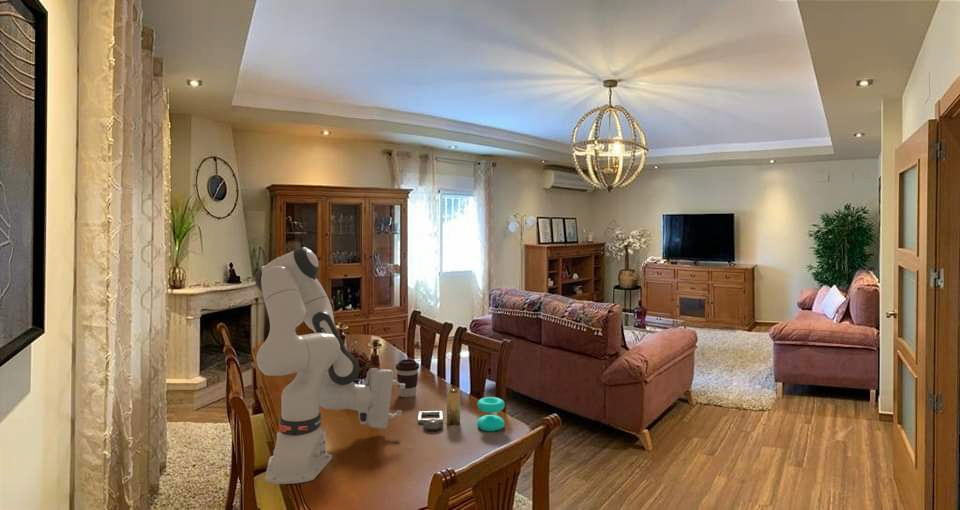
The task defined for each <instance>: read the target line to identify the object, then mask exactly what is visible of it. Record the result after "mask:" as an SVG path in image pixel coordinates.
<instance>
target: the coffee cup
mask: <svg viewBox="0 0 960 510" xmlns="http://www.w3.org/2000/svg"><path fill="white" fill-rule="evenodd" d="M419 369H420V364H419V363H418V362H416V360H415V359H409V358H407V359H401V360H400V361H399V362H398V363H397V364H395V370H397V372H396V377H397V378H396V379H397V380H396V381H398V382H399V383H401V384H405V389H403V388H402V389H400V386H399V385H398V384H397V387H398V396H401V398H404V397H406V398H407V397H409V398H413V397H415V396H416V394H417V387H418V376H419V375H418V374H419V372H418V370H419ZM406 398H405V399H406Z"/></svg>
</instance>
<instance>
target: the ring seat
mask: <svg viewBox="0 0 960 510" xmlns="http://www.w3.org/2000/svg"><path fill="white" fill-rule="evenodd" d="M428 415H434V416H439V418H436V419H439V420H441V421H443V420H444V419H443V410H428V411H427V410H425V411H423V410H422V411H421V410H420V411H419V410H418V416H417V422H418V425H419V423H421V424H422V423H424V421H426V420H429V419H428V418H422V417H426V416H427V417H428ZM443 422H444V421H443Z"/></svg>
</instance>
